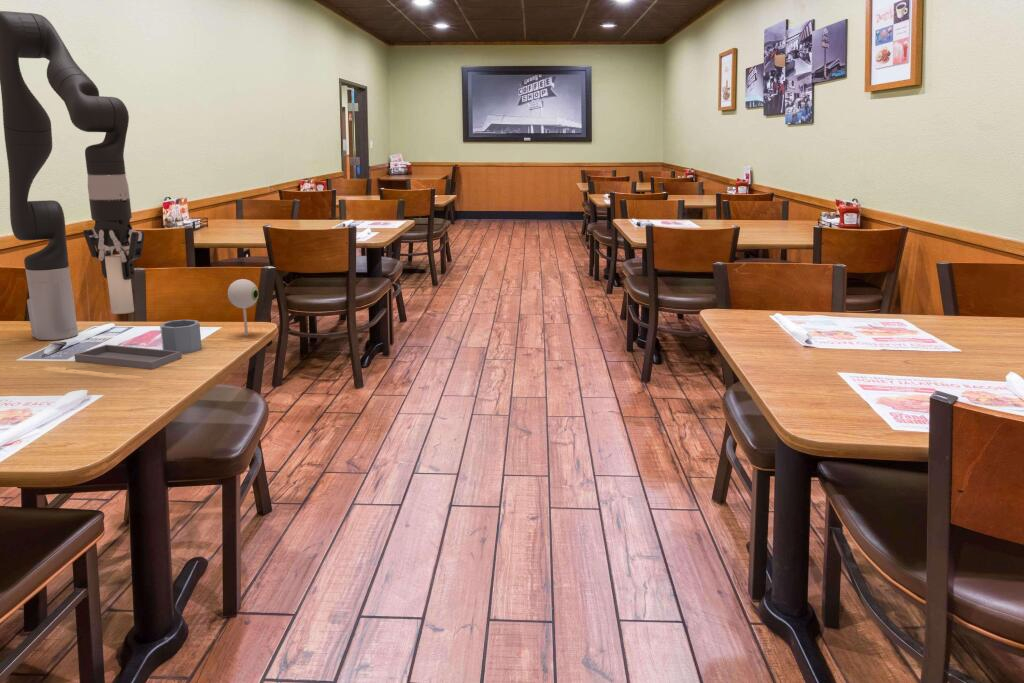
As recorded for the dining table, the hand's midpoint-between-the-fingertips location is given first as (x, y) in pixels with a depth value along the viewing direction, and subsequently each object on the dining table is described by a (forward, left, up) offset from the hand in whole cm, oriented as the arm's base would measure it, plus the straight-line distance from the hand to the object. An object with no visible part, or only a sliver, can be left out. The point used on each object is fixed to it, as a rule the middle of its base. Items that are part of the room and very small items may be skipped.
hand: (119, 278), depth 164 cm
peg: (0, 0, -7) cm, 7 cm away
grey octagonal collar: (+5, +11, -19) cm, 23 cm away
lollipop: (+11, +27, -19) cm, 35 cm away
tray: (0, 0, -19) cm, 19 cm away
